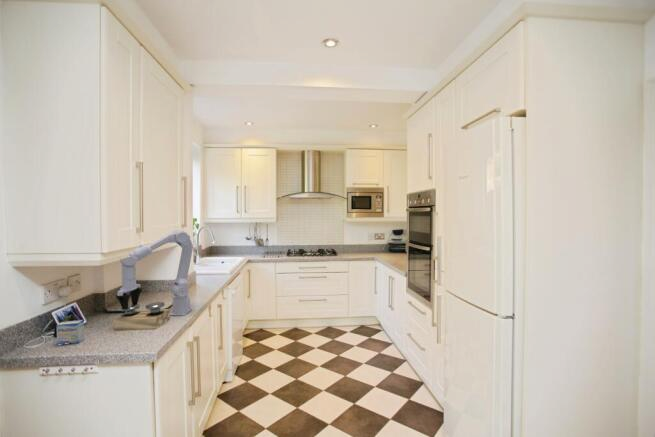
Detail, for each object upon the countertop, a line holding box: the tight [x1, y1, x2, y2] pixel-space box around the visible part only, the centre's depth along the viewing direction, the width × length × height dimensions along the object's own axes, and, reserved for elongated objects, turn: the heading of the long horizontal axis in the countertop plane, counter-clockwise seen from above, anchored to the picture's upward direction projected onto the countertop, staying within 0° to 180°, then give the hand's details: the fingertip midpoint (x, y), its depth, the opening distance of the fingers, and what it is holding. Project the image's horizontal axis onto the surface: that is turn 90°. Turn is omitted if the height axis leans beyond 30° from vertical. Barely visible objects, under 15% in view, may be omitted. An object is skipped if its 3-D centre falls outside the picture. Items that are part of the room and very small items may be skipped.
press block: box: [113, 308, 171, 331], centre depth 147 cm, size 13×19×5 cm
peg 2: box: [145, 301, 165, 315], centre depth 147 cm, size 8×8×5 cm
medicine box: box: [56, 319, 85, 345], centre depth 127 cm, size 8×4×9 cm, turn 106°
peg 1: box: [119, 303, 141, 316], centre depth 147 cm, size 8×8×5 cm
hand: (130, 306), depth 147 cm, fingers open, 7 cm apart
